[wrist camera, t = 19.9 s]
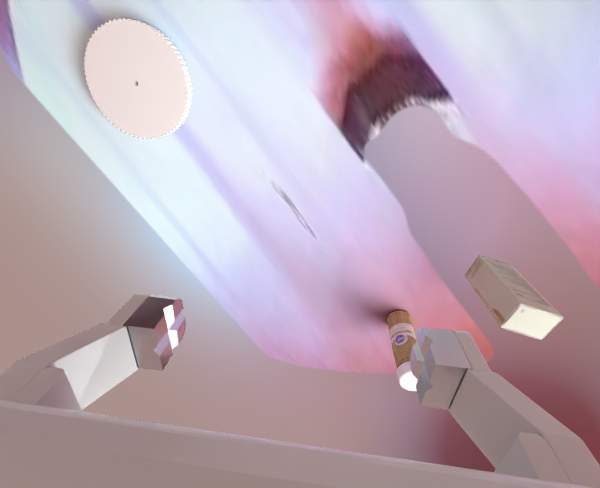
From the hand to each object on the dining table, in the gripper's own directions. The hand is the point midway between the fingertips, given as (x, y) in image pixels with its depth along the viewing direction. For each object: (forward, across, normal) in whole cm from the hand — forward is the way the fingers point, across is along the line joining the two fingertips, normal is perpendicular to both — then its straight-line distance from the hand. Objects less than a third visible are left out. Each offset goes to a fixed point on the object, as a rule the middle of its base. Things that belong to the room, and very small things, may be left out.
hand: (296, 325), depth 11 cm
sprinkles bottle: (+37, -16, +30) cm, 51 cm away
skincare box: (+37, -28, +18) cm, 50 cm away
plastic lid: (+38, +26, -6) cm, 46 cm away
